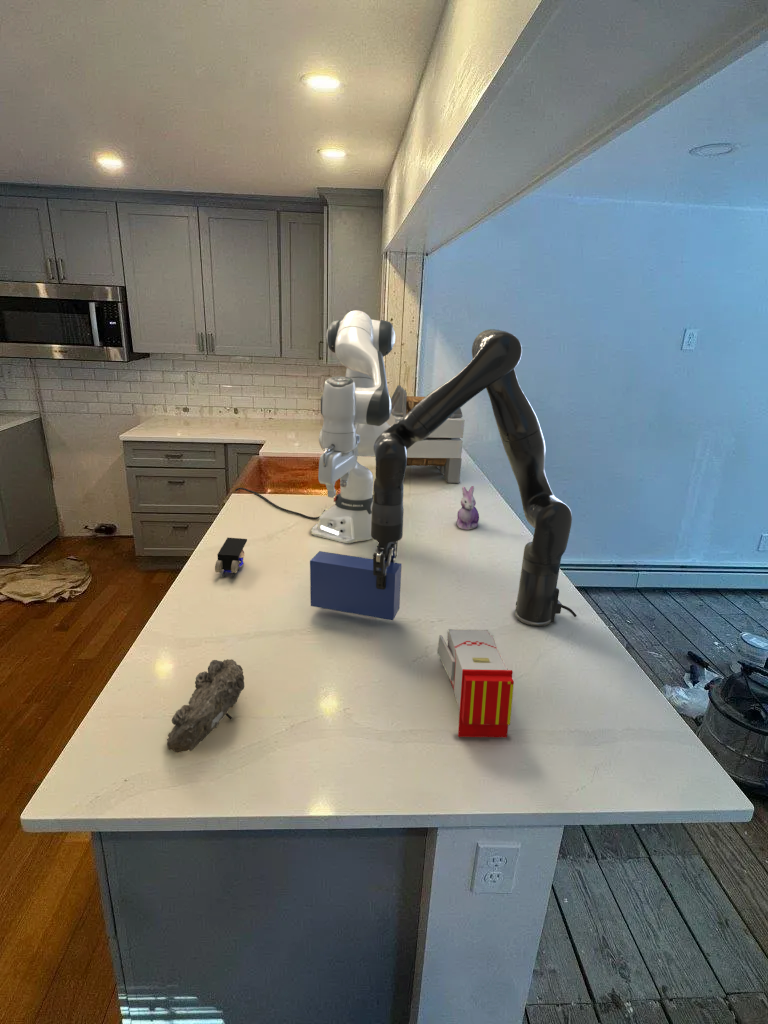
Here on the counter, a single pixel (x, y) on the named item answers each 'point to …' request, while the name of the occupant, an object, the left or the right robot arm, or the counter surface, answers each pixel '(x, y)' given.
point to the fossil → (206, 705)
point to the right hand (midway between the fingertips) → (384, 582)
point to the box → (353, 586)
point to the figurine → (468, 510)
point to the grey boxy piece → (432, 439)
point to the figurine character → (230, 556)
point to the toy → (478, 682)
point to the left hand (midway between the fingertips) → (338, 491)
